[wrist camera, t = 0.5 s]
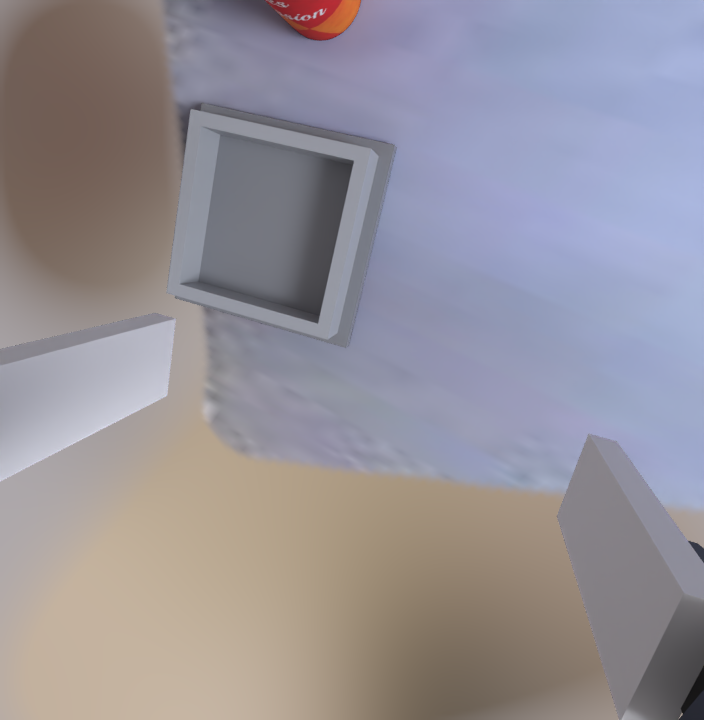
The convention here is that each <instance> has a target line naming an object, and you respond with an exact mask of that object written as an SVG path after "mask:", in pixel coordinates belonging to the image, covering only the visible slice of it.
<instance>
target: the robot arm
mask: <svg viewBox="0 0 704 720" xmlns="http://www.w3.org/2000/svg"><path fill="white" fill-rule="evenodd" d="M175 321H176V319H175V318H172V317H168V316H164V315H161V314H157V313H152V314H148V315H144V316H140V317H135V318H131V319H127V320H122V321H118V322H114V323H110V324H105V325H101V326H97V327H93V328H88V329H84V330H80V331H76V332H71V333H67V334H63V335H59V336H54V337H50V338H45V339H41V340H37V341H33V342H28V343H24V344H19V345H15V346H11V347H7V348H2V349H0V481H2V480H4V479H6V478H8V477H10V476H12V475H14V474H16V473H18V472H20V471H22V470H24V469H25V468H27V467H29V466H31V465H33V464H35V463H37V462H39V461H41V460H43V459H45V458H47V457H49V456H51V455H53V454H54V453H57V452H59V451H60V450H62V449H64V448H66V447H68V446H70V445H72V444H74V443H76V442H78V441H80V440H82V439H84V438H86V437H88V436H90V435H92V434H94V433H95V432H97V431H99V430H101V429H103V428H105V427H107V426H109V425H111V424H113V423H115V422H117V421H119V420H121V419H123V418H125V417H127V416H128V415H130V414H132V413H134V412H136V411H138V410H140V409H142V408H144V407H146V406H148V405H150V404H152V403H154V402H156V401H158V400H160V399H162V398H164V397H165V396H167V392H168V383H169V374H170V364H171V356H172V347H173V338H174V330H175ZM557 518H558V521H559V524H560V527H561V531H562V534H563V538H564V541H565V544H566V548H567V551H568V554H569V557H570V561H571V564H572V567H573V570H574V574H575V577H576V580H577V583H578V587H579V590H580V593H581V596H582V600H583V603H584V606H585V609H586V613H587V616H588V619H589V622H590V626H591V629H592V632H593V636H594V639H595V642H596V646H597V649H598V652H599V655H600V658H601V661H602V665H603V668H604V672H605V675H606V678H607V681H608V685H609V688H610V691H611V695H612V698H613V701H614V704H615V707H616V711H617V714H618V717H619V720H678V719H679V717H680V715H681V713H683V715H682V716H681V717H680V719H679V720H704V548H702V547H701V546H700V545H699V544H697V543H694V542H691V541H688V540H687V539H686V538H685V536H684V535H683V533H682V532H681V531H680V529H679V528H678V527H677V525H676V524H675V522H674V521H673V520H672V518H671V517H670V515H669V514H668V512H667V511H666V510H665V508H664V507H663V505H662V504H661V503H660V501H659V500H658V498H657V497H656V496H655V494H654V493H653V491H652V490H651V489H650V487H649V486H648V484H647V483H646V482H645V480H644V479H643V477H642V476H641V475H640V473H639V472H638V470H637V469H636V468H635V466H634V465H633V463H632V462H631V461H630V459H629V458H628V456H627V455H626V454H625V452H624V451H623V449H622V448H621V447H620V445H619V444H618V442H617V441H613V440H610V439H606V438H602V437H599V436H595V435H592V434H588V437H587V439H586V442H585V444H584V447H583V450H582V452H581V455H580V457H579V460H578V463H577V465H576V468H575V470H574V473H573V476H572V478H571V481H570V483H569V486H568V489H567V491H566V494H565V496H564V499H563V502H562V504H561V507H560V509H559V512H558V515H557Z"/></svg>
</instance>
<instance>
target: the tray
mask: <svg viewBox="0 0 704 720" xmlns="http://www.w3.org/2000/svg"><path fill="white" fill-rule="evenodd" d="M396 149H397V147H396V146H395V145H393V144H388V143H383V142H379V141H374V140H370V139H365V138H360V137H356V136H351V135H347V134H342V133H337V132H333V131H328V130H324V129H319V128H314V127H310V126H305V125H301V124H296V123H291V122H287V121H282V120H278V119H273V118H268V117H264V116H259V115H255V114H250V113H245V112H241V111H236V110H232V109H227V108H222V107H218V106H213V105H209V104H204V103H201V110H200V111H198V110H194V109H191V110H190V118H189V126H188V133H187V141H186V148H185V156H184V163H183V171H182V179H181V186H180V194H179V201H178V209H177V217H176V225H175V232H174V239H173V247H172V255H171V262H170V270H169V278H168V285H167V293H169V294H172V295H175V298H176V299H180V300H183V301H187V302H190V303H194V304H197V305H201V306H204V307H207V308H211V309H214V310H218V311H221V312H225V313H228V314H231V315H235V316H238V317H242V318H245V319H249V320H252V321H255V322H259V323H262V324H266V325H269V326H273V327H276V328H279V329H283V330H286V331H290V332H293V333H297V334H300V335H303V336H307V337H310V338H314V339H317V340H321V341H324V342H328V343H331V344H334V345H338V346H341V347H345V348H347V347H348V346H349V343H350V339H351V335H352V330H353V326H354V322H355V318H356V314H357V310H358V306H359V301H360V297H361V293H362V289H363V285H364V281H365V277H366V273H367V268H368V264H369V260H370V256H371V252H372V248H373V244H374V239H375V235H376V231H377V227H378V223H379V219H380V215H381V211H382V206H383V202H384V198H385V194H386V190H387V186H388V182H389V178H390V173H391V169H392V165H393V161H394V157H395V153H396Z"/></svg>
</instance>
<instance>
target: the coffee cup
mask: <svg viewBox="0 0 704 720" xmlns="http://www.w3.org/2000/svg"><path fill="white" fill-rule="evenodd" d="M265 1H266V2H267V3H268V4H269V5H270V6H271V7H272V8H273V9H274V10H275V11H276V12H277V13H278V14H279V15H280V16H281V17H282V18H283V19H285V20H286V21H287V22H288V23H289V24H290V25H291V26H292V27H293V28H294V29H295V30H297V31H298V32H299V33H300V34H302V35H303V36H305V37H307V38H309V39H313V40H319V41H322V40H329V39H332V38H334V37H336V36H338V35H340V34H341V33H343V32H344V31H345V30H346V29H347V28H348V27H349V26H350V25H351V23H352V22H353V20H354V19H355V17H356V15H357V13H358V10H359V7H360V3H361V0H265Z"/></svg>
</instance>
